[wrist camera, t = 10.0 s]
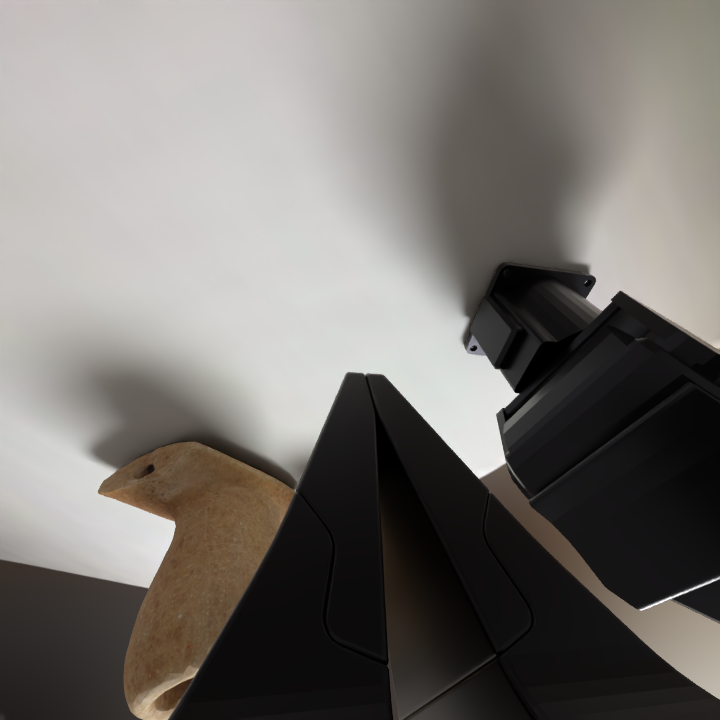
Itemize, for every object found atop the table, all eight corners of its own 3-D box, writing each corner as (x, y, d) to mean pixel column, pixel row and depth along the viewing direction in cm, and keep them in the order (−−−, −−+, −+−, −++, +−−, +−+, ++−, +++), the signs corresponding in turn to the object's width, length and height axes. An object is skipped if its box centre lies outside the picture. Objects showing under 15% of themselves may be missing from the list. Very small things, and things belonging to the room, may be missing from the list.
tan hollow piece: (333, 482, 33) (341, 700, 21) (247, 528, 36) (212, 735, 24) (201, 397, 25) (90, 675, 13) (107, 466, 28) (-47, 733, 16)
